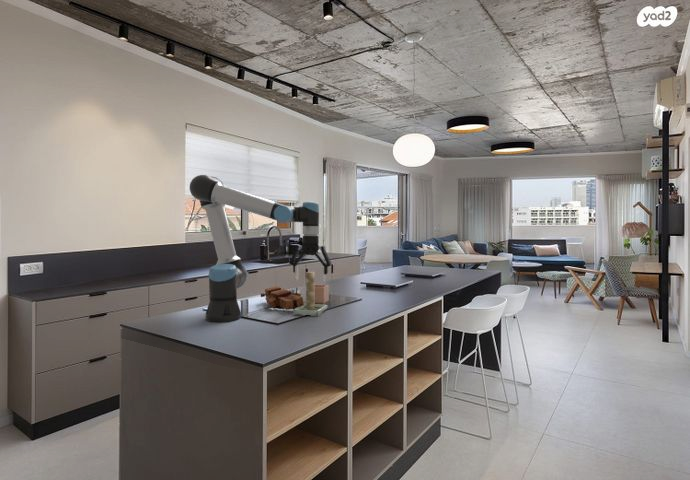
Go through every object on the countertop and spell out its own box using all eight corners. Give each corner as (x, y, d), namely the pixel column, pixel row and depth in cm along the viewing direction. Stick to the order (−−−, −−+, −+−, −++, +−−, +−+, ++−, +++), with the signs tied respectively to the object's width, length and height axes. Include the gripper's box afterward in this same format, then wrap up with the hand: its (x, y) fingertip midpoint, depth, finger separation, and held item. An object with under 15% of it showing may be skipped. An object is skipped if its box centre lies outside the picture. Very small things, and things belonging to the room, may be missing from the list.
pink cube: (309, 304, 218) (309, 286, 218) (314, 301, 226) (314, 284, 226) (323, 305, 216) (323, 287, 216) (328, 302, 224) (328, 285, 223)
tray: (293, 314, 196) (293, 309, 196) (304, 308, 209) (304, 303, 209) (317, 316, 193) (317, 311, 193) (327, 309, 206) (327, 305, 206)
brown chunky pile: (311, 307, 206) (283, 296, 231) (309, 290, 205) (281, 281, 230) (280, 316, 197) (254, 304, 222) (277, 298, 196) (252, 288, 220)
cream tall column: (305, 311, 200) (304, 273, 198) (308, 309, 204) (307, 271, 202) (313, 311, 199) (312, 273, 197) (316, 309, 202) (315, 272, 201)
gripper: (282, 234, 199) (282, 279, 200) (333, 236, 192) (333, 283, 193) (289, 234, 206) (288, 277, 207) (338, 235, 199) (337, 280, 200)
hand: (310, 280), depth 200 cm, fingers open, 13 cm apart
